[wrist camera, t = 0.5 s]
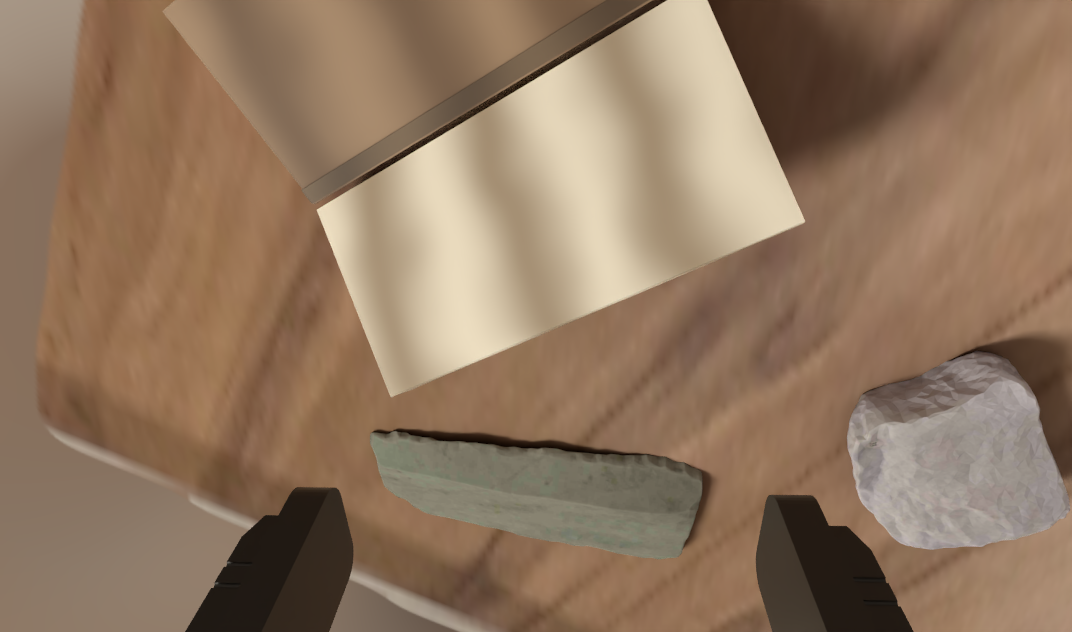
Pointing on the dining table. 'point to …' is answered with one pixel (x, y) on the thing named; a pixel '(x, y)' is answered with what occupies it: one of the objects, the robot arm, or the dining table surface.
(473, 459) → the stone slab
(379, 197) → the ash plank
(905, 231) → the dining table surface
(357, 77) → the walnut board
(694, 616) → the dining table surface
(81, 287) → the dining table surface
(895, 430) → the stone block
